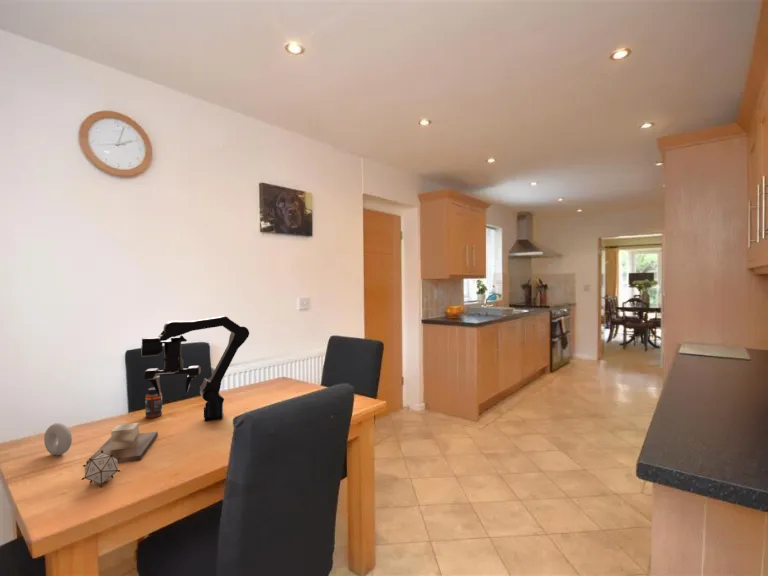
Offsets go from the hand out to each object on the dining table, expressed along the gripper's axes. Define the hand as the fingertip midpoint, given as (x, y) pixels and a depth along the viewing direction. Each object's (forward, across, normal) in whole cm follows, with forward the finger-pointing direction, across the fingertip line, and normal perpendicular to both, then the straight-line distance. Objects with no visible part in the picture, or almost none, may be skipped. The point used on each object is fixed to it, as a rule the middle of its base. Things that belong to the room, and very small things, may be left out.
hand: (173, 394), depth 146 cm
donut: (+12, +29, +17) cm, 36 cm away
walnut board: (+12, +10, +20) cm, 25 cm away
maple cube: (+10, +10, +20) cm, 24 cm away
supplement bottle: (+12, +10, -14) cm, 21 cm away
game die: (+12, +10, +42) cm, 44 cm away
